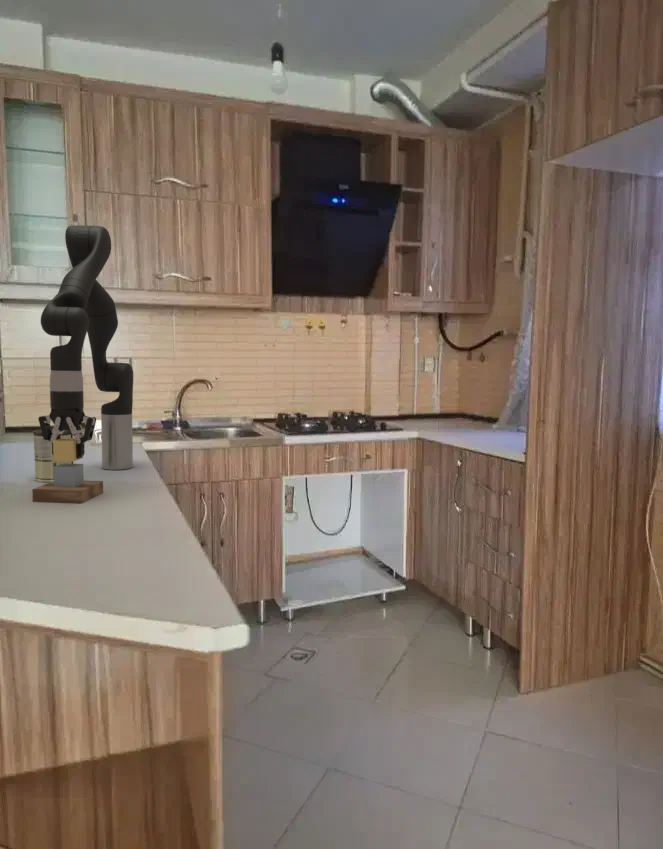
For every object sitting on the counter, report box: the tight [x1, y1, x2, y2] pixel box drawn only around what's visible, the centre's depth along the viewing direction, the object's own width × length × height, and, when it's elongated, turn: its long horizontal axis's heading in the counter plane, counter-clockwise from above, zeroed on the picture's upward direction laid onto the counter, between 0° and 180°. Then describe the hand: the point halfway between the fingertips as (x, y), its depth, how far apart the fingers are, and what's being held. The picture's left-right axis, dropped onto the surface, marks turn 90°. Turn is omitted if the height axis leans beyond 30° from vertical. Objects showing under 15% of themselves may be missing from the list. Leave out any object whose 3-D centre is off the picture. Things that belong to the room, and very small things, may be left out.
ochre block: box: [53, 437, 84, 462], centre depth 149 cm, size 5×5×5 cm
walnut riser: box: [31, 480, 104, 504], centre depth 150 cm, size 12×12×3 cm
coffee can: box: [32, 427, 74, 483], centre depth 172 cm, size 10×10×14 cm
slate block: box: [54, 463, 85, 487], centre depth 150 cm, size 5×5×5 cm
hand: (68, 457), depth 150 cm, fingers closed on ochre block, 5 cm apart
